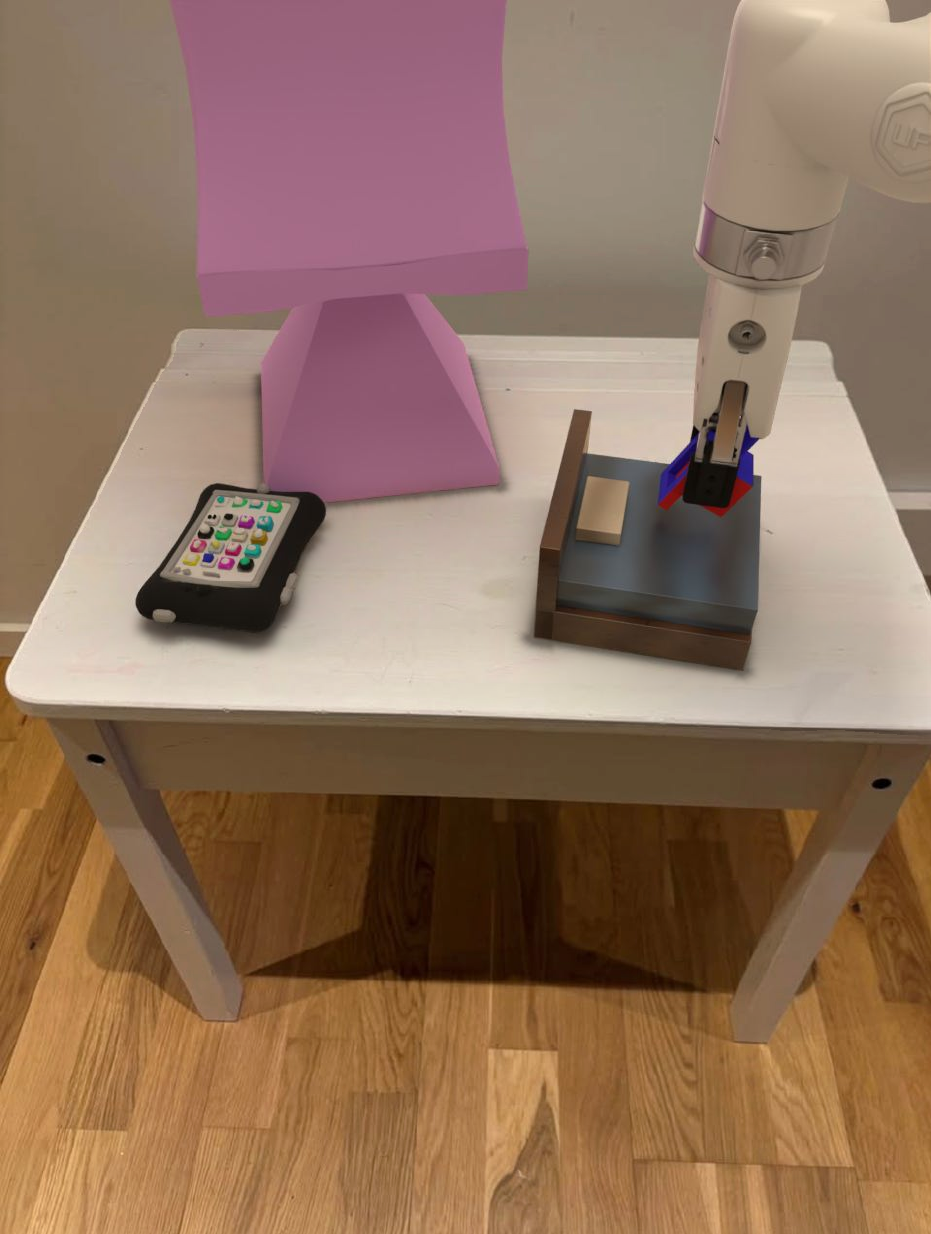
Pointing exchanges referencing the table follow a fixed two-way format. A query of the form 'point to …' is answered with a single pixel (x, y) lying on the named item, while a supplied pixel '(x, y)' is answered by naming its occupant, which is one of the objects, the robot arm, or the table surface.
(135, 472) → the table surface
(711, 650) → the doll bed
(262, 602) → the phone
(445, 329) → the pink table lamp
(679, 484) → the toy building block
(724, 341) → the robot arm
